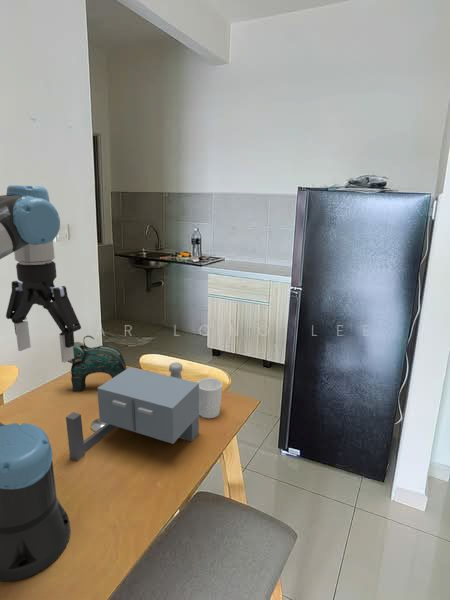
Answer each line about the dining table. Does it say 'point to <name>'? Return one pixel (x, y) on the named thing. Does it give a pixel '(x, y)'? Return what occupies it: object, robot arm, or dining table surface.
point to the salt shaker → (175, 370)
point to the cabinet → (151, 404)
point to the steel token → (97, 424)
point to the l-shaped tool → (76, 436)
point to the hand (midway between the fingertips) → (45, 354)
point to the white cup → (209, 397)
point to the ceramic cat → (94, 363)
